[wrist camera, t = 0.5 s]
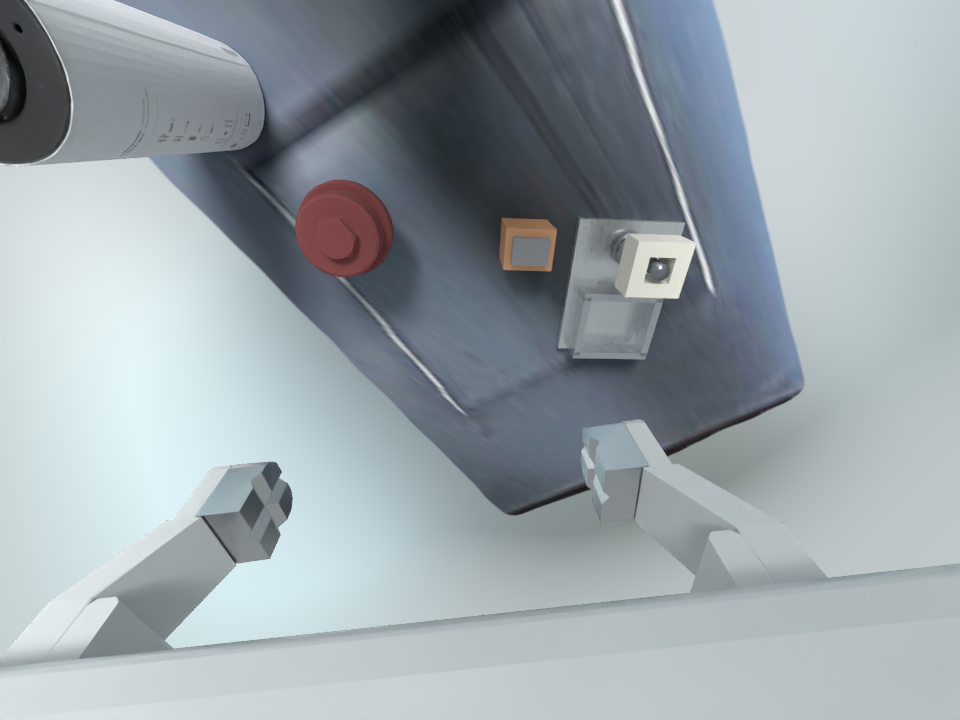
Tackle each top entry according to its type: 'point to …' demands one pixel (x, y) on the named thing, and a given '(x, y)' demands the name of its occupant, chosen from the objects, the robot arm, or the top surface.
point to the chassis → (609, 291)
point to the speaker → (116, 86)
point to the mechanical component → (343, 228)
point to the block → (527, 244)
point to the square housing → (636, 261)
